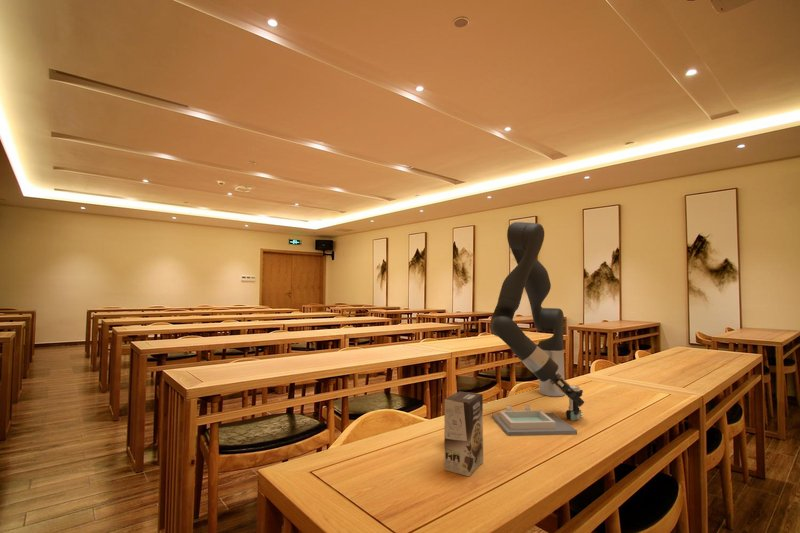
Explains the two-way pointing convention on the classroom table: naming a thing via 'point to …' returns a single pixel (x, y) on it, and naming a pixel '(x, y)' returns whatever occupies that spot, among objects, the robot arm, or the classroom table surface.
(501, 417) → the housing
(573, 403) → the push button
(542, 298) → the robot arm
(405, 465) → the classroom table surface
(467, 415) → the coffee box
